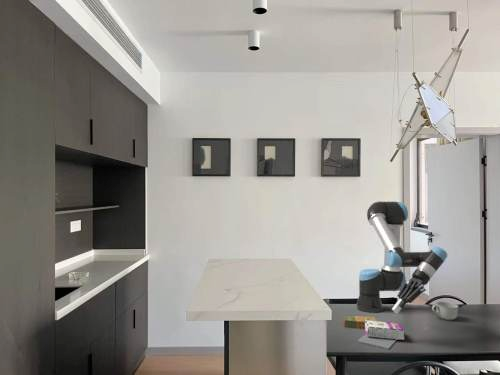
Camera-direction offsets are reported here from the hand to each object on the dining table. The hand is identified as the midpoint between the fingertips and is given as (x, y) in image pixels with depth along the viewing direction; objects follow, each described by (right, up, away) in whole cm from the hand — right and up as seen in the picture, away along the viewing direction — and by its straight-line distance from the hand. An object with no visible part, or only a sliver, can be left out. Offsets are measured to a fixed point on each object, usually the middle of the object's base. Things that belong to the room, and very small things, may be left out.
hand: (394, 311), depth 172 cm
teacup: (+40, -15, +32) cm, 53 cm away
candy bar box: (+5, -10, +2) cm, 12 cm away
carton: (-11, -14, +18) cm, 26 cm away
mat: (-9, -13, -2) cm, 16 cm away
